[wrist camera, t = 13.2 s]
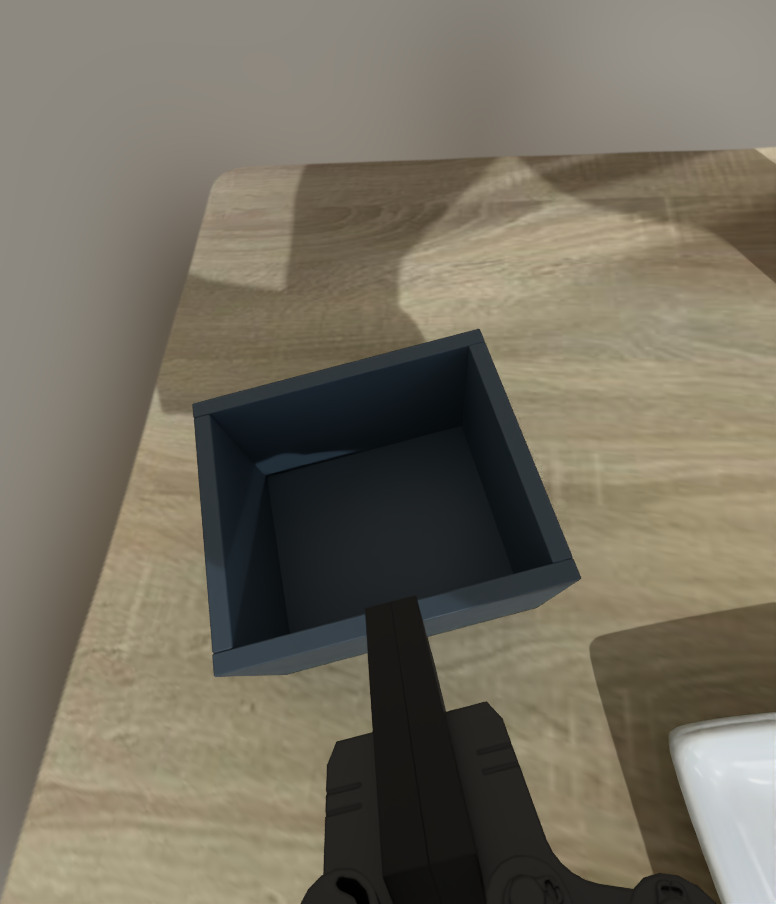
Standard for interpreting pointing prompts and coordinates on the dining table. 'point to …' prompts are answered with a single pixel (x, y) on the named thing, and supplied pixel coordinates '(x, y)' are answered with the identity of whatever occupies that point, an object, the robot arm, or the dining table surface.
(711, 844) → the square plate
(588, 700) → the dining table surface
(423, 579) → the navy storage bin
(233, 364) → the dining table surface
